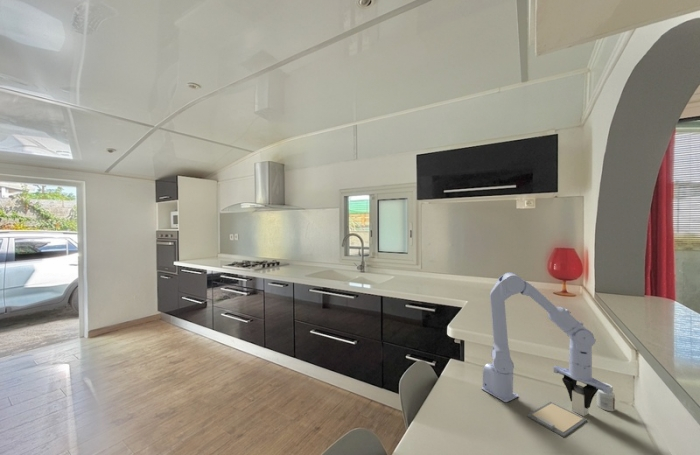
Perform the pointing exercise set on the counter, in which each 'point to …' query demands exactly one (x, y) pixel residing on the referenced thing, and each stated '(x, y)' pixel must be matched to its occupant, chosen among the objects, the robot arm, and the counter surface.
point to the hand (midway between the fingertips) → (580, 403)
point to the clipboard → (557, 419)
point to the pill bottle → (606, 399)
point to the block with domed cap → (578, 400)
